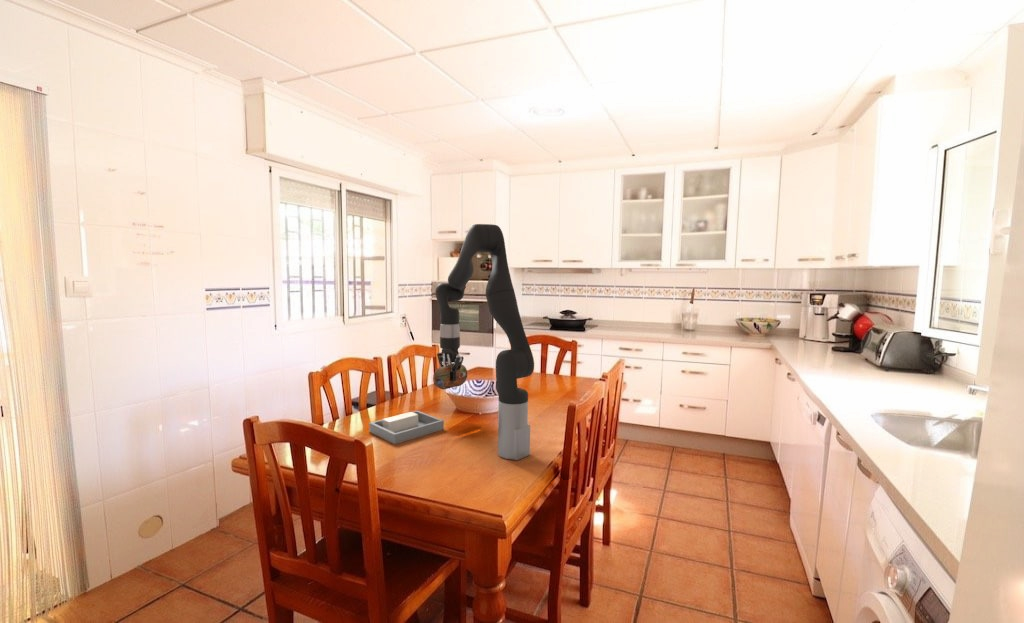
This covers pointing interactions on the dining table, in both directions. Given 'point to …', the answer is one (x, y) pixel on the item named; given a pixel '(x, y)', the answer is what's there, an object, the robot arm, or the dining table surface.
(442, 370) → the tin
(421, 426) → the tray
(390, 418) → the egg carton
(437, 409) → the dining table surface
